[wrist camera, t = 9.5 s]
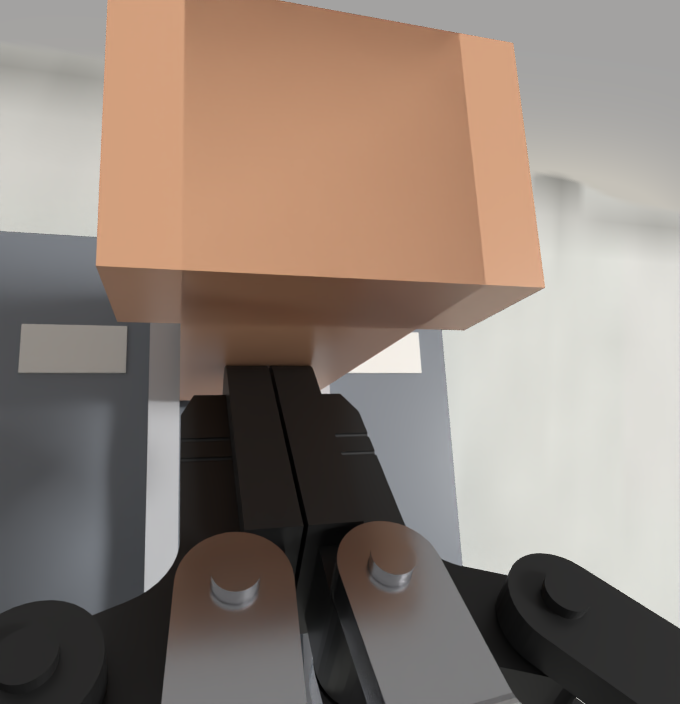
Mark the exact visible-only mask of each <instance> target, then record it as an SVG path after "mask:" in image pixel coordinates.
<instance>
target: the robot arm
mask: <svg viewBox="0 0 680 704" xmlns="http://www.w3.org/2000/svg"><path fill="white" fill-rule="evenodd" d="M306 633H308V637H309V642H310V647H311V652H312V657H313V659H312V664H311V668H310V673H309V690H310V695H311V699H312V703H313V704H584V703H585V704H680V628H678V627H676V626H675V625H673V624H672V623H670V622H668V621H667V620H665V619H664V618H662V617H660V616H659V615H657V614H656V613H654V612H652V611H651V610H649V609H648V608H646V607H644V606H643V605H641V604H640V603H638V602H636V601H635V600H633V599H632V598H630V597H628V596H627V595H625V594H624V593H622V592H620V591H619V590H617V589H616V588H614V587H612V586H611V585H609V584H608V583H606V582H604V581H603V580H601V579H600V578H598V577H597V576H595V575H593V574H592V573H590V572H589V571H587V570H585V569H584V568H582V567H581V566H579V565H577V564H575V563H573V562H572V561H569V560H567V559H565V558H562V557H559V556H555V555H551V554H542V553H536V554H530V555H527V556H524V557H522V558H520V559H519V560H517V561H516V562H515V563H514V565H513V566H512V568H511V570H510V572H509V574H508V575H503V574H498V573H493V572H488V571H484V570H479V569H474V568H469V567H464V566H460V565H456V564H453V563H450V562H448V561H445V560H443V559H441V558H440V556H439V554H438V553H437V551H436V550H435V548H434V547H433V546H432V545H431V543H430V542H429V541H428V540H426V539H425V538H424V537H423V536H422V535H420V534H419V533H417V532H416V531H414V530H412V529H410V528H408V527H406V525H405V523H404V521H403V519H402V516H401V514H400V511H399V509H398V506H397V504H396V501H395V499H394V496H393V494H392V492H391V489H390V487H389V484H388V482H387V479H386V477H385V474H384V472H383V469H382V467H381V465H380V462H379V460H378V457H377V455H375V450H374V447H373V445H372V442H371V440H370V438H369V437H368V436H367V430H366V428H365V425H364V423H363V420H362V418H361V415H360V413H359V411H358V410H357V409H356V408H355V407H354V406H353V405H352V404H351V403H350V402H349V401H347V400H346V399H345V398H344V397H343V396H342V395H341V394H321V391H320V388H319V385H318V382H317V379H316V376H315V373H314V370H313V368H312V367H311V366H270V367H269V368H268V366H225V368H224V377H223V393H222V395H194V396H193V397H192V399H191V400H190V402H189V403H188V405H187V406H186V408H185V409H184V411H183V412H182V414H181V428H180V515H179V550H178V553H177V557H176V559H175V561H174V563H173V565H172V566H171V568H170V569H169V570H168V572H167V573H166V574H165V576H164V577H163V578H162V579H161V580H160V581H159V582H158V583H157V584H155V585H154V586H153V587H152V588H150V589H149V590H147V591H146V592H144V593H143V594H141V595H139V596H138V597H135V598H133V599H131V600H129V601H127V602H124V603H122V604H119V605H117V606H114V607H112V608H109V609H107V610H104V611H102V612H99V613H97V614H94V615H91V614H90V613H89V612H88V611H86V610H85V609H84V608H82V607H80V606H77V605H75V604H73V603H69V602H65V601H57V600H43V601H35V602H30V603H26V604H23V605H20V606H16V607H13V608H11V609H9V610H7V611H5V612H3V613H0V704H307V700H306V690H305V680H304V670H303V660H302V650H301V640H300V634H306ZM576 697H577V698H578V699H580V700H581V701H582V702H584V703H582V702H581V701H579V700H578V699H577V698H576Z"/></svg>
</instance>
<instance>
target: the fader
mask: <svg viewBox="0 0 680 704" xmlns="http://www.w3.org/2000/svg"><path fill="white" fill-rule="evenodd" d="M96 268H97V270H98V273H99V275H100V278H101V281H102V283H103V286H104V288H105V291H106V294H107V296H108V299H109V301H110V304H111V307H112V309H113V312H114V315H115V317H116V320H117V322H139V323H180V401H181V400H191V399H192V397H193V396H194V395H222V393H223V377H224V368H225V366H268V368H269V367H270V366H311V367H312V368H313V370H314V373H315V376H316V379H317V382H318V385H319V388H320V390H322V389H323V388H325V387H326V386H328V385H329V384H331V383H333V382H334V381H336V380H337V379H339V378H340V377H342V376H344V375H345V374H347V373H348V372H350V371H351V370H353V369H355V368H356V367H358V366H359V365H361V364H362V363H364V362H366V361H367V360H369V359H370V358H372V357H373V356H375V355H377V354H378V353H380V352H381V351H383V350H384V349H386V348H388V347H389V346H391V345H392V344H394V343H395V342H397V341H399V340H400V339H402V338H403V337H405V336H406V335H408V334H410V333H411V332H413V331H414V330H416V329H433V330H466V329H467V328H469V327H471V326H473V325H475V324H477V323H479V322H481V321H483V320H485V319H486V318H488V317H490V316H492V315H494V314H496V313H498V312H500V311H502V310H504V309H505V308H507V307H509V306H511V305H513V304H515V303H517V302H519V301H521V300H522V299H524V298H526V297H528V296H530V295H532V294H534V293H536V292H538V291H540V290H541V289H543V288H545V284H544V277H543V269H542V261H541V254H540V246H539V238H538V231H537V223H536V215H535V207H534V200H533V192H532V184H531V177H530V169H529V161H528V153H527V146H526V138H525V131H524V123H523V115H522V108H521V100H520V92H519V84H518V76H517V69H516V61H515V54H514V46H513V43H510V42H505V41H499V40H494V39H488V38H482V37H477V36H472V35H466V34H461V33H455V32H450V31H444V30H438V29H433V28H427V27H422V26H417V25H411V24H405V23H400V22H394V21H389V20H384V19H378V18H372V17H367V16H361V15H356V14H351V13H345V12H339V11H334V10H329V9H323V8H318V7H312V6H307V5H301V4H296V3H291V2H285V1H280V0H108V5H107V27H106V49H105V72H104V94H103V116H102V139H101V161H100V184H99V206H98V229H97V251H96Z"/></svg>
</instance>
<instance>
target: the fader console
mask: <svg viewBox="0 0 680 704" xmlns="http://www.w3.org/2000/svg"><path fill="white" fill-rule="evenodd" d="M96 251H97V237H86V236H70V235H54V234H38V233H21V232H5V231H0V613H3V612H5V611H7V610H9V609H11V608H13V607H16V606H20V605H23V604H26V603H30V602H35V601H43V600H57V601H65V602H69V603H73V604H75V605H77V606H80V607H82V608H84V609H85V610H86V611H88V612H89V613H90V614H91V615H94V614H97V613H99V612H102V611H104V610H107V609H109V608H112V607H114V606H117V605H119V604H122V603H124V602H127V601H129V600H131V599H133V598H135V597H138V596H139V595H141V594H143V593H144V592H146V591H147V590H149V589H150V588H152V587H153V586H154V585H155V584H157V583H158V582H159V581H160V580H161V579H162V578H163V577H164V576H165V574H166V573H167V572H168V570H169V569H170V568H171V566H172V565H173V563H174V561H175V559H176V557H177V553H178V550H179V515H180V428H181V414H182V412H183V411H184V409H185V408H186V406H187V405H188V403H189V402H190V400H181V401H180V323H139V322H117V320H116V317H115V315H114V312H113V309H112V307H111V304H110V301H109V299H108V296H107V294H106V291H105V288H104V286H103V283H102V281H101V278H100V275H99V273H98V270H97V268H96ZM320 391H321V394H341V395H342V396H343V397H344V398H345V399H346V400H347V401H349V402H350V403H351V404H352V405H353V406H354V407H355V408H356V409H357V410H358V411H359V413H360V415H361V418H362V420H363V423H364V425H365V428H366V430H367V436H368V437H369V438H370V440H371V442H372V445H373V447H374V450H375V455H377V457H378V460H379V462H380V465H381V467H382V469H383V472H384V474H385V477H386V479H387V482H388V484H389V487H390V489H391V492H392V494H393V496H394V499H395V501H396V504H397V506H398V509H399V511H400V514H401V516H402V519H403V521H404V523H405V525H406V527H408V528H410V529H412V530H414V531H416V532H417V533H419V534H420V535H422V536H423V537H424V538H425V539H426V540H428V541H429V542H430V543H431V545H432V546H433V547H434V548H435V550H436V551H437V553H438V554H439V556H440V558H441V559H443V560H445V561H448V562H450V563H453V564H456V565H460V566H462V555H461V544H460V533H459V521H458V510H457V499H456V487H455V476H454V465H453V453H452V442H451V431H450V419H449V408H448V397H447V385H446V374H445V363H444V352H443V340H442V330H433V329H416V330H414V331H413V332H411V333H410V334H408V335H406V336H405V337H403V338H402V339H400V340H399V341H397V342H395V343H394V344H392V345H391V346H389V347H388V348H386V349H384V350H383V351H381V352H380V353H378V354H377V355H375V356H373V357H372V358H370V359H369V360H367V361H366V362H364V363H362V364H361V365H359V366H358V367H356V368H355V369H353V370H351V371H350V372H348V373H347V374H345V375H344V376H342V377H340V378H339V379H337V380H336V381H334V382H333V383H331V384H329V385H328V386H326V387H325V388H323V389H322V390H320ZM300 640H301V650H302V660H303V670H304V680H305V690H306V700H307V704H313V703H312V699H311V695H310V690H309V673H310V668H311V664H312V659H313V657H312V652H311V647H310V642H309V637H308V633H306V634H300Z"/></svg>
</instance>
